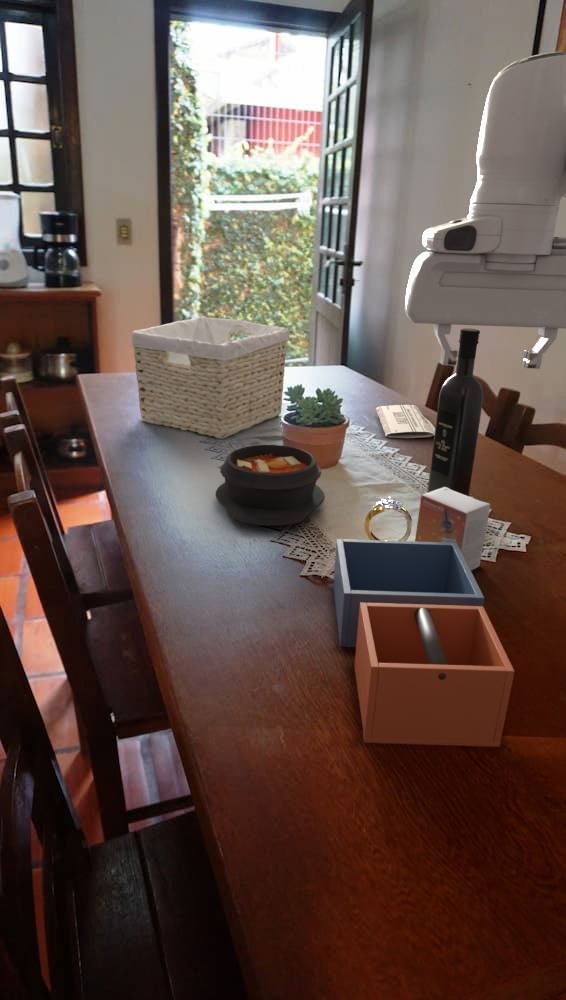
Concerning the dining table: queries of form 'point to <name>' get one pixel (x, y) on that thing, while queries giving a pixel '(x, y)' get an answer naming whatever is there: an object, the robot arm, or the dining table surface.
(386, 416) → the newspaper
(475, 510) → the small box
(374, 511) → the ring
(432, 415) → the dining table surface
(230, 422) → the basket
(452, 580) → the lower bin
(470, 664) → the orange bin
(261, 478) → the casserole
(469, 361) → the wine bottle
